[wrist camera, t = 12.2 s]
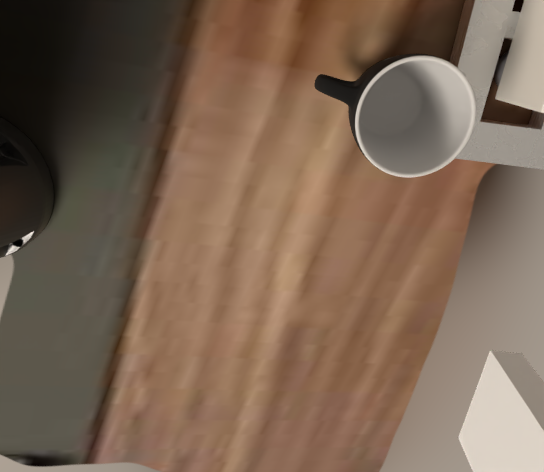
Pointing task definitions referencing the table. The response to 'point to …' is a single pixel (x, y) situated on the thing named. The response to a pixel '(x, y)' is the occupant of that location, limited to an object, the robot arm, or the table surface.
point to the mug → (407, 112)
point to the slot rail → (479, 71)
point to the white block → (524, 61)
